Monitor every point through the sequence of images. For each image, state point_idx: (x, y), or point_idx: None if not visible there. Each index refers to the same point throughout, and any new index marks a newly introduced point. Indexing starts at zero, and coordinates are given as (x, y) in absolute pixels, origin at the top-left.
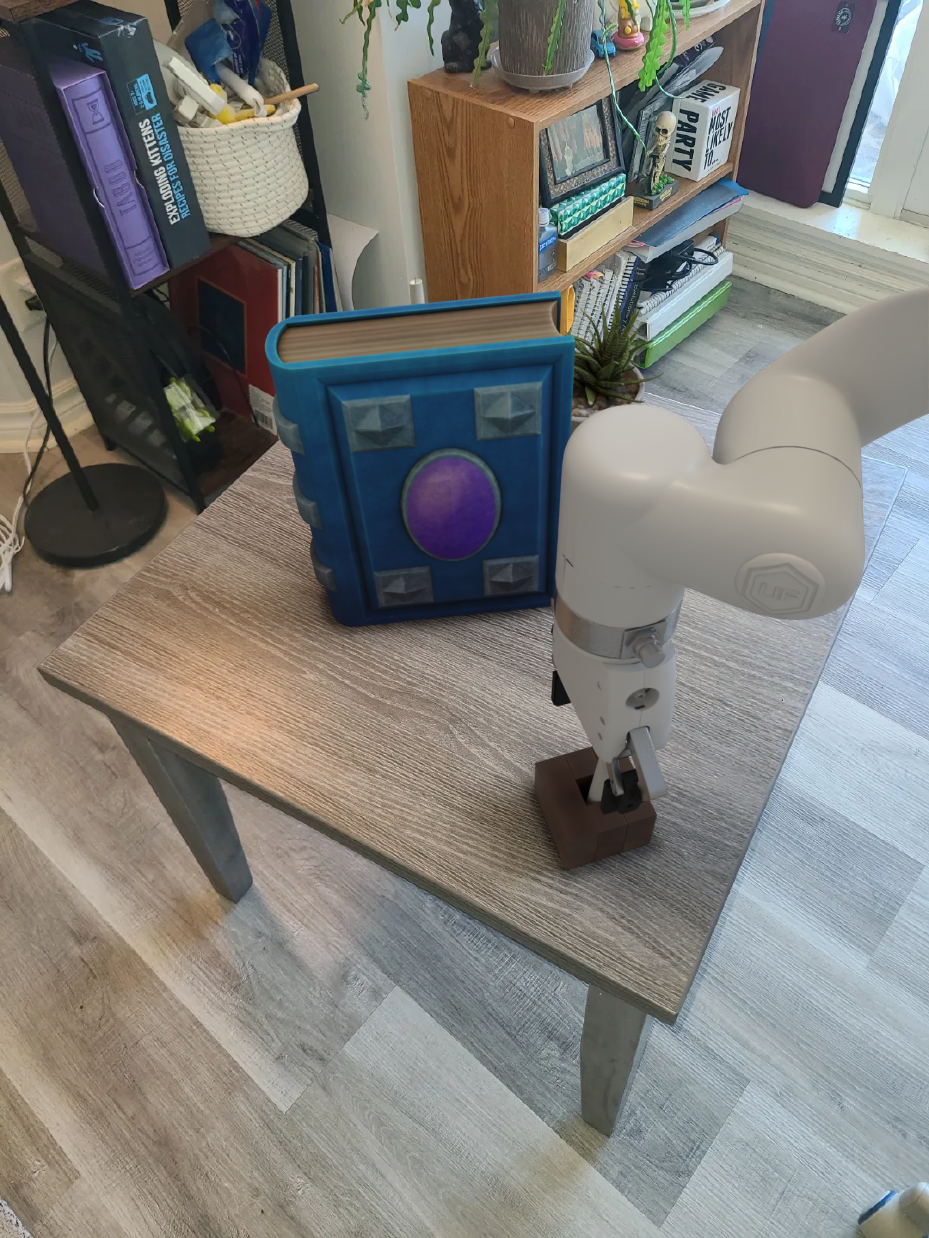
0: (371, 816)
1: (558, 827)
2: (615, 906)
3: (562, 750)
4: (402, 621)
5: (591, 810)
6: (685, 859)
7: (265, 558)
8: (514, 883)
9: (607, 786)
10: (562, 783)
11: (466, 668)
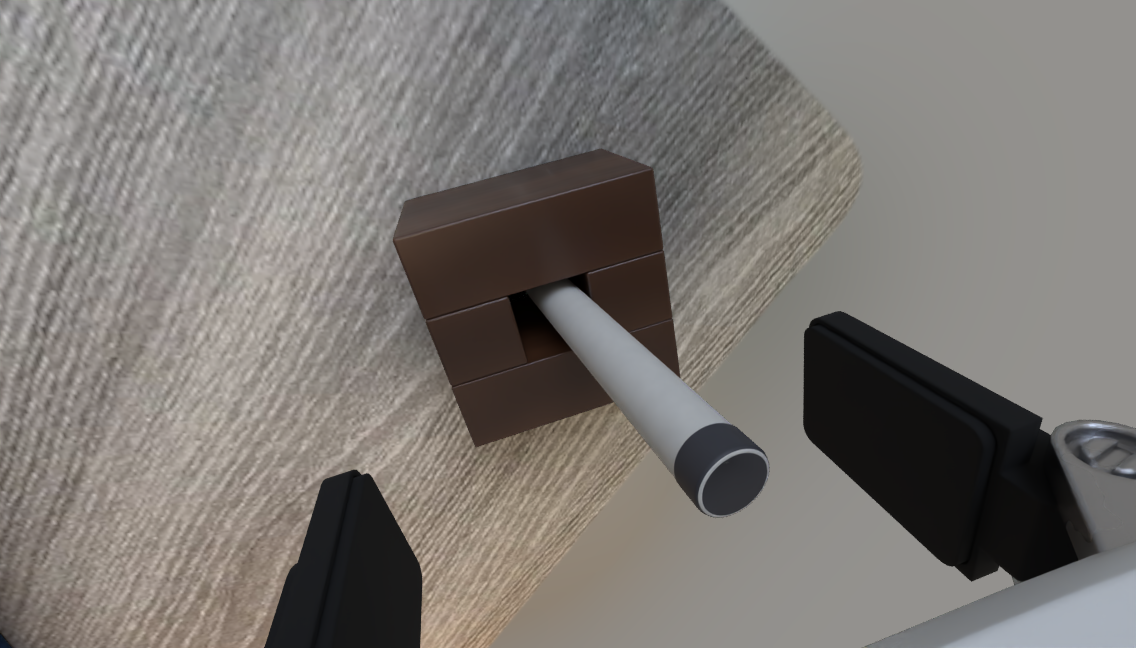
0: (503, 588)
1: None
2: (710, 240)
3: (356, 314)
4: (4, 640)
5: None
6: (648, 72)
7: None
8: None
9: (994, 570)
10: (537, 390)
11: (129, 510)
